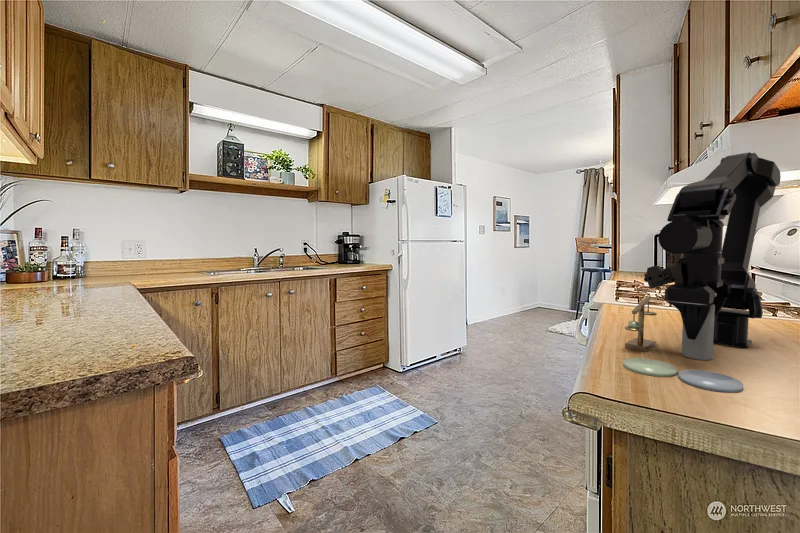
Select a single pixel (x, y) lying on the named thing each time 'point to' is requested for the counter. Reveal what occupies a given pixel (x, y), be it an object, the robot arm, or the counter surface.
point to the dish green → (650, 367)
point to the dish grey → (711, 381)
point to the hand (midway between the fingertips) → (697, 335)
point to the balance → (640, 328)
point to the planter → (700, 340)
